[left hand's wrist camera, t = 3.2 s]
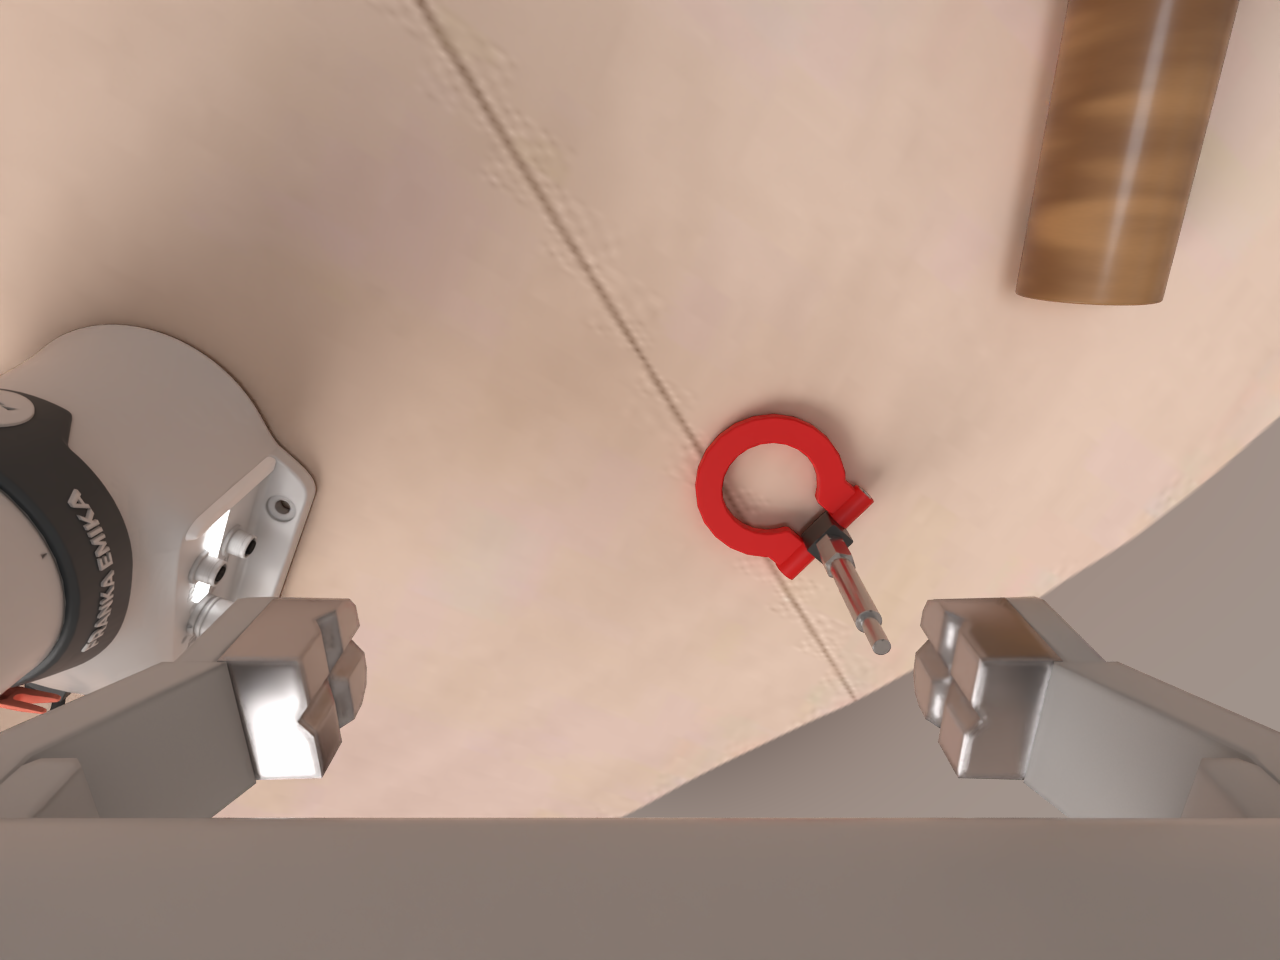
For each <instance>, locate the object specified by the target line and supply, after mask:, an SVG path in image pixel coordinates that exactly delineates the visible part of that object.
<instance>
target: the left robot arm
mask: <svg viewBox="0 0 1280 960" xmlns="http://www.w3.org/2000/svg"><path fill="white" fill-rule="evenodd" d="M315 492H316V487H315V483H314V480H313V478H312V477H311V475H310V474H309V473H308V472H307V470H306V469H305V468H304V467H303V466H302V465H301V464H300V463H299V462H298V461H297V460H295V459H294V458H293V457H292V456H291V455H290V454H289V453H287V452H286V451H285V450H284V449H283V448H281V447H280V446H279V445H278V443H277V442H276V441H275V439H274V438H273V437H272V435H271V433H270V432H269V430H268V428H267V426H266V425H265V423H264V421H263V419H262V417H261V416H260V414H259V412H258V410H257V409H256V407H255V405H254V404H253V402H252V401H251V400H250V398H249V397H248V395H247V394H246V393H245V392H244V390H243V389H242V388H241V387H240V386H239V384H238V383H237V382H236V381H235V380H234V379H233V378H232V377H231V376H230V375H229V374H228V373H227V372H226V371H225V370H224V369H222V368H221V367H220V366H219V365H218V364H216V363H215V362H214V361H213V360H211V359H210V358H209V357H207V356H206V355H204V354H203V353H201V352H200V351H198V350H197V349H195V348H193V347H191V346H190V345H188V344H186V343H184V342H182V341H180V340H178V339H175V338H173V337H171V336H168V335H166V334H163V333H160V332H157V331H153V330H150V329H146V328H141V327H136V326H129V325H118V324H107V325H95V326H89V327H84V328H80V329H77V330H74V331H71V332H68V333H66V334H64V335H62V336H60V337H58V338H56V339H55V340H53V341H52V342H50V343H49V344H47V345H46V346H45V347H43V348H42V349H41V350H40V351H38V352H37V353H36V354H35V355H33V356H32V357H31V358H29V359H28V360H26V361H25V362H23V363H21V364H20V365H18V366H16V367H15V368H13V369H11V370H10V371H8V372H6V373H4V374H2V375H0V707H1V708H6V709H11V710H16V711H21V712H30V713H39V714H41V715H39V716H36V717H34V718H32V719H29V720H27V721H25V722H23V723H20V724H18V725H16V726H13V727H11V728H9V729H6V730H4V731H2V732H0V960H1280V732H1278V731H1275V730H1273V729H1271V728H1268V727H1266V726H1264V725H1262V724H1259V723H1257V722H1255V721H1252V720H1250V719H1248V718H1246V717H1243V716H1241V715H1239V714H1236V713H1234V712H1232V711H1230V710H1227V709H1225V708H1223V707H1220V706H1218V705H1216V704H1213V703H1211V702H1209V701H1207V700H1204V699H1202V698H1200V697H1197V696H1195V695H1193V694H1191V693H1188V692H1186V691H1184V690H1181V689H1179V688H1177V687H1175V686H1172V685H1170V684H1168V683H1165V682H1163V681H1161V680H1158V679H1156V678H1154V677H1151V676H1149V675H1147V674H1145V673H1142V672H1140V671H1138V670H1135V669H1133V668H1131V667H1129V666H1126V665H1124V664H1122V663H1119V662H1106V661H1105V660H1104V659H1103V658H1102V657H1101V656H1100V655H1099V654H1098V653H1097V652H1096V651H1095V650H1094V649H1093V648H1092V647H1091V646H1090V645H1089V644H1088V643H1087V642H1086V641H1085V640H1084V639H1083V638H1082V637H1081V636H1080V635H1079V634H1078V633H1077V632H1076V631H1075V630H1074V629H1073V628H1072V627H1071V626H1070V625H1069V624H1068V623H1067V622H1066V621H1065V620H1064V619H1062V617H1061V616H1060V615H1059V614H1057V613H1056V612H1055V611H1054V610H1053V609H1052V608H1051V607H1050V606H1049V605H1048V604H1047V603H1046V602H1045V601H1044V600H1043V599H1040V598H1037V597H1010V598H968V599H934V600H928V601H927V603H926V605H925V607H924V609H923V613H922V618H921V624H920V626H921V628H922V630H923V631H924V633H925V634H926V636H927V637H928V639H929V640H928V641H927V642H926V643H925V644H924V645H923V646H922V647H921V648H920V649H919V650H918V651H917V652H916V654H915V662H914V670H913V677H914V688H915V694H916V698H917V701H918V704H919V707H920V709H921V711H922V713H923V715H924V717H925V719H926V720H928V721H930V722H931V723H933V724H934V725H936V726H937V727H939V728H940V734H939V740H938V743H939V744H940V746H941V748H942V750H943V751H944V753H945V755H946V757H947V759H948V761H949V762H950V764H951V766H952V768H953V770H954V771H955V773H956V775H957V777H958V778H976V779H1013V780H1024V783H1025V784H1026V785H1027V786H1029V787H1030V788H1031V789H1032V790H1034V791H1035V792H1036V793H1038V794H1039V795H1040V796H1041V797H1043V798H1044V799H1045V800H1047V801H1048V802H1049V803H1050V804H1052V805H1053V806H1054V807H1056V808H1057V809H1058V810H1060V811H1061V812H1062V813H1063V814H1065V815H1066V816H1067V817H1069V818H212V817H213V816H214V815H216V814H217V813H218V812H219V811H221V810H222V809H223V808H225V807H226V806H227V805H228V804H230V803H231V802H232V801H234V800H235V799H236V798H238V797H239V796H240V795H241V794H243V793H244V792H245V791H247V790H248V789H249V788H250V787H252V786H253V785H254V784H256V780H267V779H302V778H322V777H323V775H324V773H325V771H326V770H327V768H328V766H329V764H330V762H331V761H332V759H333V757H334V755H335V753H336V752H337V750H338V748H339V746H340V744H341V743H342V740H341V734H340V728H341V727H343V726H344V725H346V724H347V723H349V722H350V721H352V720H354V719H355V717H356V715H357V713H358V711H359V709H360V707H361V705H362V701H363V697H364V693H365V688H366V672H367V667H366V661H365V654H364V652H363V651H362V650H361V649H360V648H359V647H358V646H357V645H356V644H355V643H354V642H353V641H352V640H351V639H352V637H353V636H354V634H355V633H356V631H357V630H358V628H359V626H360V624H359V619H358V614H357V609H356V605H355V604H354V603H353V602H352V601H351V600H350V599H341V598H289V597H281V598H279V596H280V593H281V590H282V588H283V585H284V582H285V579H286V576H287V573H288V570H289V568H290V565H291V562H292V559H293V556H294V553H295V551H296V548H297V545H298V542H299V539H300V536H301V533H302V531H303V528H304V525H305V522H306V519H307V516H308V513H309V511H310V508H311V505H312V502H313V499H314V496H315ZM281 500H283V501H286V502H287V503H288V504H289V505H290V509H286V508H284V507H283V506H282V504H281ZM24 684H25V688H24V687H20V685H24ZM71 693H76V694H81V695H85V696H82V697H80V698H78V699H75V700H73V701H71V702H69V703H66V704H65V698H66V697H67V696H68V695H70V694H71ZM49 702H52V705H51V709H50V711H48V712H46V709H45V708H43V707H40V706H37V705H33V704H30V703H49Z"/></svg>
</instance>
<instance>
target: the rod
mask: <svg viewBox="0 0 1280 960" xmlns="http://www.w3.org/2000/svg"><path fill="white" fill-rule="evenodd" d="M1238 4H1239V0H1069V1H1068V6H1067V12H1066V17H1065V23H1064V28H1063V34H1062V39H1061V45H1060V50H1059V56H1058V61H1057V67H1056V72H1055V78H1054V83H1053V89H1052V94H1051V100H1050V105H1049V111H1048V116H1047V121H1046V127H1045V132H1044V138H1043V143H1042V149H1041V154H1040V160H1039V165H1038V171H1037V176H1036V182H1035V187H1034V193H1033V198H1032V204H1031V209H1030V215H1029V220H1028V226H1027V231H1026V237H1025V242H1024V248H1023V253H1022V258H1021V264H1020V269H1019V275H1018V280H1017V286H1016V294H1018V295H1020V296H1023V297H1027V298H1032V299H1038V300H1045V301H1053V302H1063V303H1074V304H1091V305H1147V304H1155V303H1159V302H1161V301H1162V300H1163V297H1164V293H1165V289H1166V285H1167V281H1168V277H1169V274H1170V270H1171V266H1172V262H1173V258H1174V254H1175V250H1176V246H1177V242H1178V238H1179V235H1180V231H1181V227H1182V223H1183V219H1184V215H1185V211H1186V207H1187V203H1188V199H1189V196H1190V192H1191V188H1192V184H1193V180H1194V176H1195V172H1196V168H1197V164H1198V160H1199V156H1200V153H1201V149H1202V145H1203V141H1204V137H1205V133H1206V129H1207V125H1208V121H1209V117H1210V114H1211V110H1212V106H1213V102H1214V98H1215V94H1216V90H1217V86H1218V82H1219V78H1220V75H1221V71H1222V67H1223V63H1224V59H1225V55H1226V51H1227V47H1228V43H1229V39H1230V36H1231V32H1232V28H1233V24H1234V20H1235V16H1236V12H1237V8H1238Z"/></svg>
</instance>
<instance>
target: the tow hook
mask: <svg viewBox="0 0 1280 960" xmlns="http://www.w3.org/2000/svg"><path fill="white" fill-rule="evenodd" d="M767 443H779V444H786V445H789V446H791V447H793V448H796V449H798V450H799V451H801V452H802V453H803V454H804V455H806V456H807V457H808V458H809V460H810V461H811V462H812V464H813V466H814V469H815V472H816V475H817V489H816V493H815V497H816V500H817V502H818V503H819V504H820V505H821V506H822V507H823V508H824V509H826V510H827V511H825V512H824V513H823V514H822V515H821V516H820V517H819V518H818V519H817V520H816V521H815V522H814V523H813V524H812V525H811V526H810V527H809V528H808V529H807V530H806V531H805V532H804V533H803V534H802V535H801V537H802V538H801V537H800V536H799V535H798V534H796V533H795V532H794V531H793V530H792V529H790V528H789V527H784V526H783V527H780V528H776V529H759V528H753V527H751V526H748V525H746V524H743V523H742V522H741V521H739V520H738V519H737V518H735V517H734V516H733V515H732V514H731V512H730V511H729V510H728V508H727V507H726V504H725V502H724V499H723V494H722V486H723V480H724V476H725V474H726V472H727V470H728V468H729V466H730V465H731V463H732V462H733V461H734V460H735V459H736V458H737V457H738V456H739V455H740V454H742V453H743V452H745V451H746V450H747V449H749V448H752V447H755V446H757V445H760V444H767ZM695 487H696V497H697V506H698V508H699V511H700V513H701V516H702V518H703V521H704V523H705V524H706V525H707V527H708V528H709V529H710V531H711V532H712V533H713V534H714V536H715V537H716V538H718V539H719V540H720V541H722V542H723V543H724V544H726V545H727V546H729V547H730V548H732V549H735V550H737V551H740V552H742V553H745V554H747V555H754V556H761V557H769V558H770V559H772V560H773V561H774V562H775V563H776V566H777V567H778V569H779V570H780V571H781V572H782V573H783V574H784V575H785V576H786V577H788V578H789V579H791V580H793V579H794V578H795V577H796V576H797V575H798V574H799V573H800V572H801V571H802V570H803V569H804V568H805V567H806V566H807V565H808V564H809V563H810V562H812V561H813V560H814V559H815V558H816V559H817V560H819V561H820V562H821V563H822V564H823V565H824V567H825V569H826V572H827V574H828V576H829V577H832V578H834V580H835V582H836V585H837V587H838V589H839V591H840V593H841V595H842V597H843V599H844V601H845V603H846V606H847V608H848V610H849V612H850V614H851V616H852V618H853V620H854V622H855V625H856V627H857V628H858V630H860V631H861V632H864V633H865V635H866V637H867V639H868V641H869V643H870V645H871V647H872V649H873V651H874V652H875V653H876V654H878V655H884V654H886V653H888V652H889V651H890V649H891V644H890V642H889V640H888V638H887V636H886V635H885V633H884V631H883V629H882V627H881V624H882V618H881V615H880V614H879V612H878V610H877V608H876V606H875V604H874V603H873V601H872V599H871V597H870V595H869V594H868V592H867V590H866V588H865V586H864V584H863V583H862V581H861V579H860V577H859V575H858V574H857V572H856V570H855V564H854V561H853V557H852V555H851V553H850V551H849V549H848V547H849V546H850V545H851V544H852V543H853V540H852V538H851V537H850V535H849V533H848V531H847V530H846V528H847V527H848V526H849V525H850V524H851V523H852V522H853V521H854V520H855V519H856V518H857V517H859V516H860V515H861V514H862V513H863V512H864V511H865V510H866V509H867V508H868V507H869V506H870V505H871V504H872V503H873V502H874V501H873V499H872V498H871V496H870V495H869V494H868V493H867V492H866V491H865V490H864V489H862V488H861V487H859V486H857V485H855V486H854V487H853V486H852V485H851V484H850V483H849V482H847V481H846V480H845V470H844V467H843V464H842V461H841V458H840V455H839V453H838V452H837V450H836V449H835V448H834V446H833V445H832V443H831V442H830V441H829V439H828V438H827V436H826V435H824V434H823V433H822V432H821V431H819V430H818V429H817V428H816V427H814V426H813V425H812V424H810V423H807V422H805V421H803V420H800V419H798V418H796V417H793V416H786V415H779V414H768V415H759V416H753V417H750V418H748V419H745V420H742V421H740V422H737V423H735V424H733V425H732V426H730V427H729V428H728V429H726V430H725V431H723V432H722V433H721V434H719V435H718V436H717V437H716V439H715V440H714V441H713V442H712V443H711V445H710V446H709V447H708V448H707V449H706V451H705V453H704V455H703V458H702V460H701V462H700V464H699V466H698V471H697V477H696V483H695Z"/></svg>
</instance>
